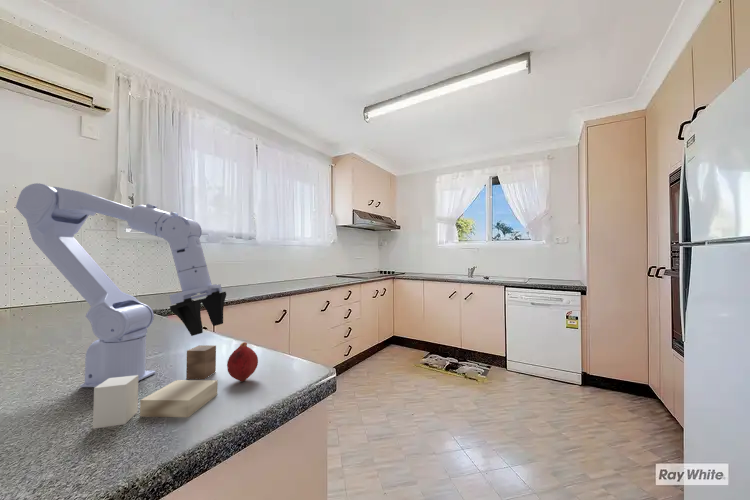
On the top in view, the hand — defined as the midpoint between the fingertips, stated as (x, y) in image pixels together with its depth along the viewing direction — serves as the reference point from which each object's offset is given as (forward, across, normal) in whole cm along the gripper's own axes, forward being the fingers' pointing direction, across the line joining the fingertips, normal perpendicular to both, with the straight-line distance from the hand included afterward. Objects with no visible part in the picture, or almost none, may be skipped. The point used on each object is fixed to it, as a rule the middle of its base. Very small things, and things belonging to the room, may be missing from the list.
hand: (208, 329), depth 64 cm
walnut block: (+9, 0, +4) cm, 10 cm away
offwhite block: (+8, -18, +6) cm, 21 cm away
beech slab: (+10, -13, -1) cm, 17 cm away
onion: (+12, -3, -6) cm, 14 cm away
